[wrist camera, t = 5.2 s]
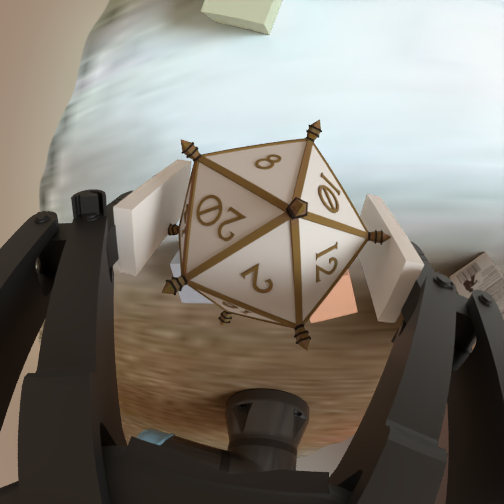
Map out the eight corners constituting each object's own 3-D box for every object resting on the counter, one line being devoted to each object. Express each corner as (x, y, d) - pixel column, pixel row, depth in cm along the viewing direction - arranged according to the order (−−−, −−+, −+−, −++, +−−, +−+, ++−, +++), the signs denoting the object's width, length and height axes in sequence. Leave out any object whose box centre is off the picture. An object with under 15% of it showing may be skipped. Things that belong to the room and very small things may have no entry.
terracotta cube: (351, 283, 34) (357, 312, 29) (310, 293, 35) (311, 323, 31) (342, 247, 32) (348, 274, 27) (297, 259, 33) (297, 287, 29)
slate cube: (235, 275, 35) (226, 303, 31) (194, 275, 36) (182, 302, 32) (228, 236, 33) (217, 262, 28) (185, 239, 34) (169, 263, 29)
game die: (249, 192, 20) (107, 259, 14) (303, 79, 13) (99, 105, 7) (346, 296, 17) (220, 412, 12) (447, 205, 11) (325, 376, 5)
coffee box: (498, 293, 31) (547, 380, 18) (463, 317, 34) (503, 410, 21) (485, 249, 29) (551, 343, 15) (446, 277, 31) (498, 382, 18)
